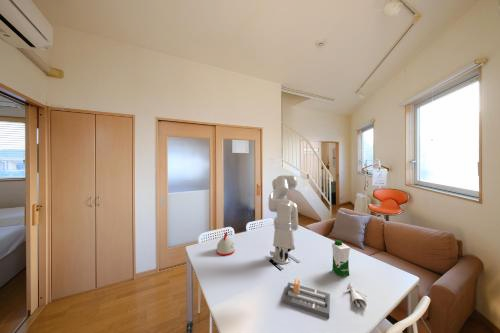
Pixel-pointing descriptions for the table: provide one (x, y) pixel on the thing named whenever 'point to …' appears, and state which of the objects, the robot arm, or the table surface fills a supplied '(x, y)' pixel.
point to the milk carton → (340, 258)
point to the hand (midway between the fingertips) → (283, 258)
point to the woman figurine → (356, 296)
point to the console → (308, 300)
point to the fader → (296, 287)
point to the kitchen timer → (225, 246)
